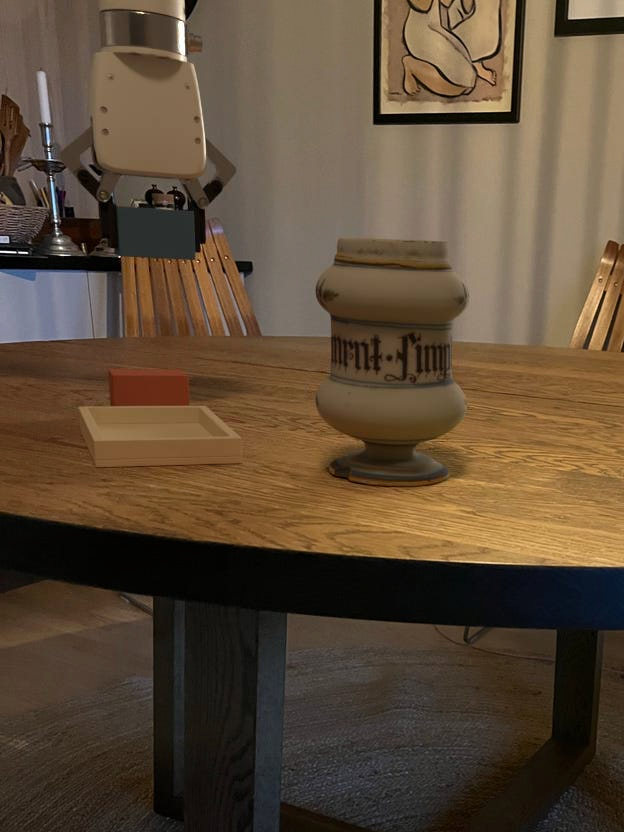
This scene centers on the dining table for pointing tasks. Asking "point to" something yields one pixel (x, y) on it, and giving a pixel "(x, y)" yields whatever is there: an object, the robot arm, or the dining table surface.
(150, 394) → the red block
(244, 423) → the dining table surface
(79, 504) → the dining table surface
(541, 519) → the dining table surface
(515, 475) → the dining table surface
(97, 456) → the wooden tray
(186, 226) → the blue-gray block
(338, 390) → the apothecary jar
